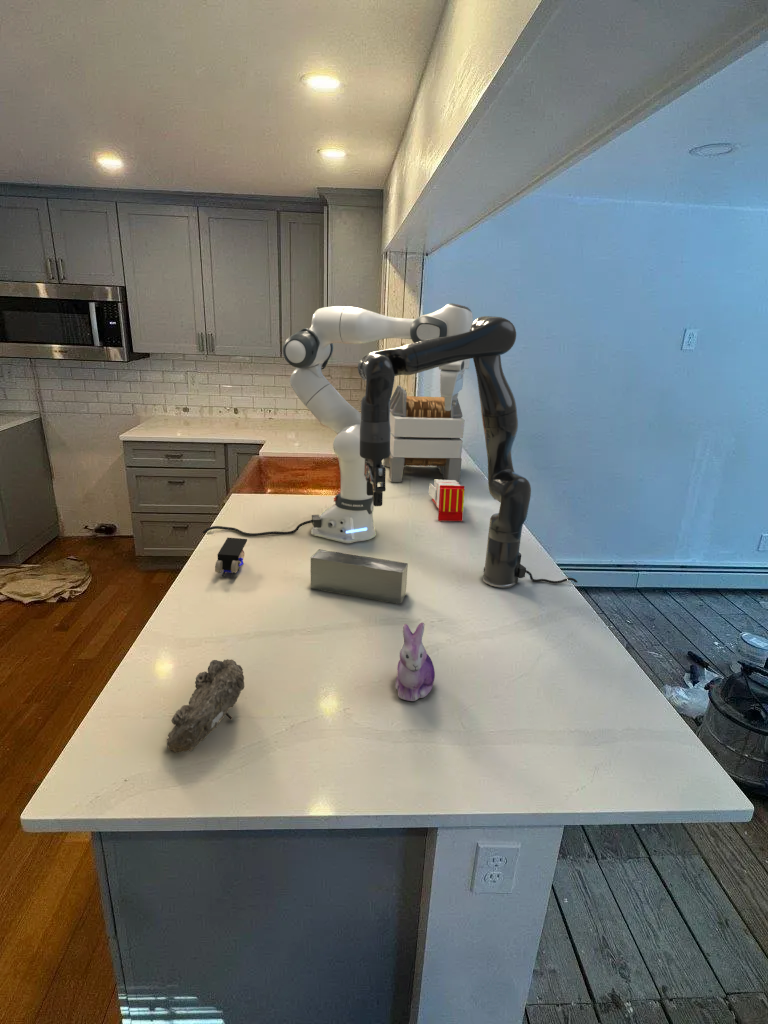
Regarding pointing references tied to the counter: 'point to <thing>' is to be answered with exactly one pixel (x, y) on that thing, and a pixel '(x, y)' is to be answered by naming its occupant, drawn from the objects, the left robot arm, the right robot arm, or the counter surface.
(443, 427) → the transformer
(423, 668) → the figurine
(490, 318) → the right robot arm
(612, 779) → the counter surface
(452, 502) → the toy
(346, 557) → the box
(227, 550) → the figurine character
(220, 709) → the fossil
